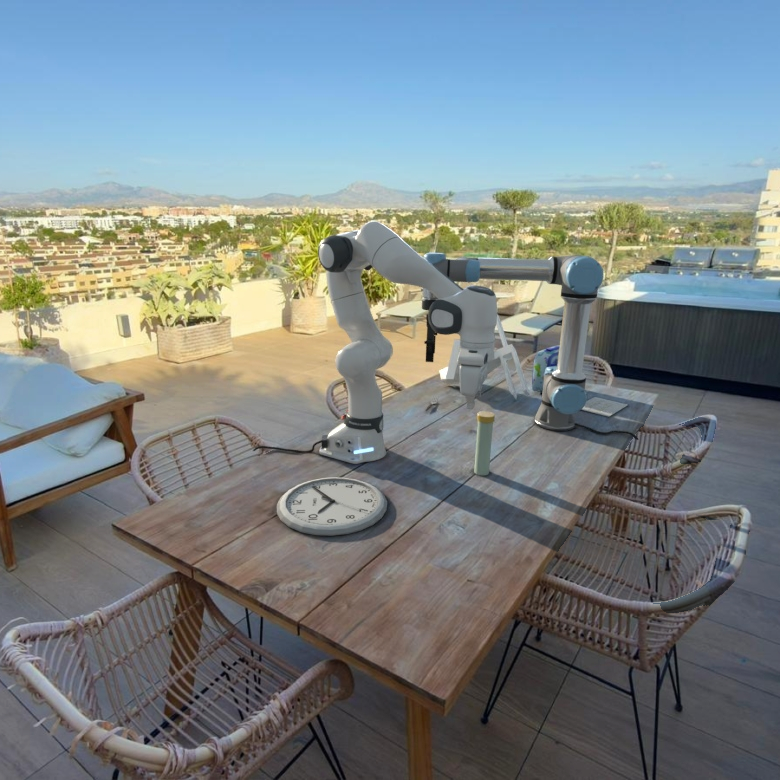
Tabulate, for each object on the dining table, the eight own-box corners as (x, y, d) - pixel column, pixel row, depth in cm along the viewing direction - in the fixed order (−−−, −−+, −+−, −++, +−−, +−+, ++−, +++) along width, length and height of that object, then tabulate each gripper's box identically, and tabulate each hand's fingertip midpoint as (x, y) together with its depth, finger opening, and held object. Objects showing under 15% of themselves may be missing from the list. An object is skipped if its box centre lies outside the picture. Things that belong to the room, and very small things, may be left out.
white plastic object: (461, 429, 252) (437, 405, 227) (444, 352, 274) (420, 323, 250) (535, 404, 240) (518, 377, 215) (510, 326, 262) (492, 293, 237)
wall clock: (392, 527, 129) (268, 531, 127) (391, 533, 130) (269, 537, 127) (383, 473, 158) (282, 475, 155) (383, 478, 158) (282, 480, 156)
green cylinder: (479, 476, 161) (483, 418, 155) (471, 470, 165) (475, 414, 159) (491, 474, 163) (496, 417, 157) (483, 468, 167) (487, 412, 161)
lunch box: (548, 398, 236) (553, 353, 229) (527, 393, 243) (531, 349, 237) (575, 387, 253) (581, 344, 247) (555, 382, 260) (560, 341, 254)
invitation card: (608, 416, 214) (573, 407, 224) (608, 416, 214) (573, 408, 224) (628, 404, 229) (594, 396, 238) (628, 405, 229) (594, 397, 238)
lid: (483, 424, 155) (483, 418, 155) (473, 418, 160) (473, 412, 159) (497, 421, 157) (498, 415, 157) (487, 416, 162) (488, 410, 161)
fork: (422, 411, 216) (422, 407, 215) (433, 400, 230) (433, 396, 230) (428, 412, 215) (429, 407, 215) (438, 401, 230) (439, 396, 229)
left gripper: (472, 342, 143) (469, 390, 147) (456, 358, 125) (453, 413, 129) (495, 344, 141) (492, 392, 146) (482, 361, 123) (479, 416, 127)
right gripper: (424, 293, 195) (422, 349, 202) (419, 302, 172) (417, 365, 178) (444, 294, 195) (441, 350, 201) (442, 303, 171) (439, 366, 177)
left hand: (473, 402), depth 137 cm, fingers open, 8 cm apart
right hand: (430, 357), depth 190 cm, fingers open, 13 cm apart
